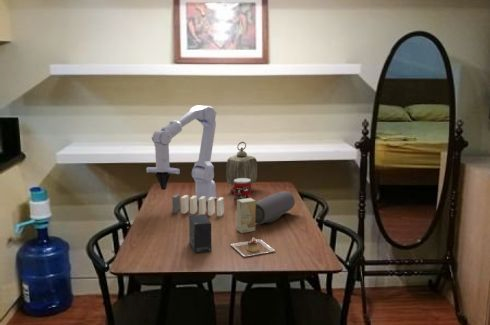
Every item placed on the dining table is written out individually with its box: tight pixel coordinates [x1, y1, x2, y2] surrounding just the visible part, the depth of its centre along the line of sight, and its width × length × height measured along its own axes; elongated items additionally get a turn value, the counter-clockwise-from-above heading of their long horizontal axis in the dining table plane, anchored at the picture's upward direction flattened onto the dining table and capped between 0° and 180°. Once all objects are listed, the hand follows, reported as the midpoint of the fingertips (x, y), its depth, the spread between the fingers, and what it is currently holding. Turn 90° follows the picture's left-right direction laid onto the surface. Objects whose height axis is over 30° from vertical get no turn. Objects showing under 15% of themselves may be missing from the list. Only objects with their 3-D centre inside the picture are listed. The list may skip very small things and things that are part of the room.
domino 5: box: [207, 197, 216, 217], centre depth 204 cm, size 2×4×7 cm, turn 166°
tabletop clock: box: [225, 141, 258, 194], centre depth 238 cm, size 14×9×25 cm, turn 144°
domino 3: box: [189, 195, 198, 215], centre depth 206 cm, size 2×4×7 cm, turn 166°
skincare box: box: [236, 197, 257, 234], centre depth 184 cm, size 6×4×12 cm
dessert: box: [229, 237, 277, 258], centre depth 166 cm, size 12×12×5 cm
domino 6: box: [216, 197, 225, 217], centre depth 203 cm, size 2×4×7 cm, turn 166°
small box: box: [188, 213, 213, 254], centre depth 168 cm, size 11×6×10 cm, turn 17°
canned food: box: [233, 178, 252, 206], centre depth 219 cm, size 8×8×11 cm
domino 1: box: [171, 194, 181, 214], centre depth 208 cm, size 2×4×7 cm, turn 166°
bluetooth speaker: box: [255, 190, 296, 225], centre depth 197 cm, size 23×9×10 cm, turn 145°
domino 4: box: [198, 196, 207, 215], centre depth 205 cm, size 2×4×7 cm, turn 166°
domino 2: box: [180, 194, 190, 214], centre depth 207 cm, size 2×4×7 cm, turn 166°
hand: (163, 189), depth 208 cm, fingers closed
